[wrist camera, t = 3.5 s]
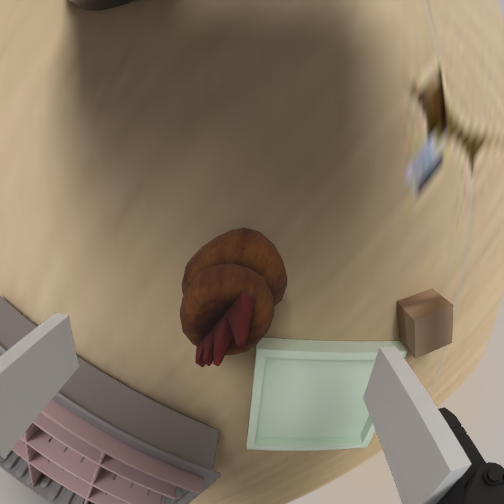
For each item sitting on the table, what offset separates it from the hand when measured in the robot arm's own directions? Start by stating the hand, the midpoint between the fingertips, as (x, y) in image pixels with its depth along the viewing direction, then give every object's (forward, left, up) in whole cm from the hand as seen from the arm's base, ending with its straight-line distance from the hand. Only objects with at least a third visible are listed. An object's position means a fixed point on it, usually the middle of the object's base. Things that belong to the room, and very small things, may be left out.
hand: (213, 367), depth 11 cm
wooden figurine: (0, 0, -14) cm, 14 cm away
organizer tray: (-23, -30, -14) cm, 40 cm away
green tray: (+9, -14, -14) cm, 22 cm away
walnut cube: (+17, -4, -14) cm, 22 cm away
